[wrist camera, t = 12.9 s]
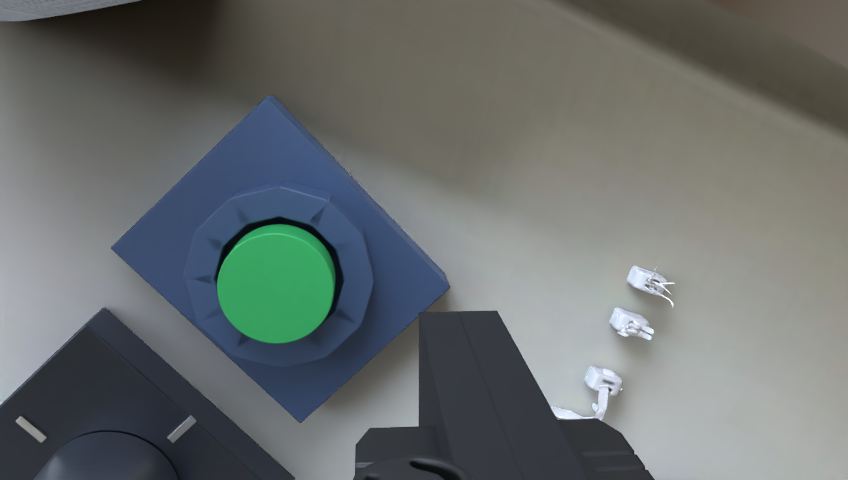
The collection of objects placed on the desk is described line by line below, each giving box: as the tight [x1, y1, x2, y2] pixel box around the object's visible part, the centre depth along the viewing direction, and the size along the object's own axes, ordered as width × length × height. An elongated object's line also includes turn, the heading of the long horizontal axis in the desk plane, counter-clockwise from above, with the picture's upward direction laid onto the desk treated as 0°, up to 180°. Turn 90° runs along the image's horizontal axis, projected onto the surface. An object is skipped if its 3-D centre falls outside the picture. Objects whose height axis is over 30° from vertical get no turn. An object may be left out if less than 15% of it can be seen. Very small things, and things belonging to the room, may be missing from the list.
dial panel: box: [0, 307, 295, 480], centre depth 35 cm, size 12×10×3 cm
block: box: [111, 95, 450, 423], centre depth 32 cm, size 11×9×4 cm
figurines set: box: [550, 266, 675, 421], centre depth 35 cm, size 12×3×3 cm, turn 160°
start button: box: [217, 224, 336, 344], centre depth 30 cm, size 4×4×2 cm
